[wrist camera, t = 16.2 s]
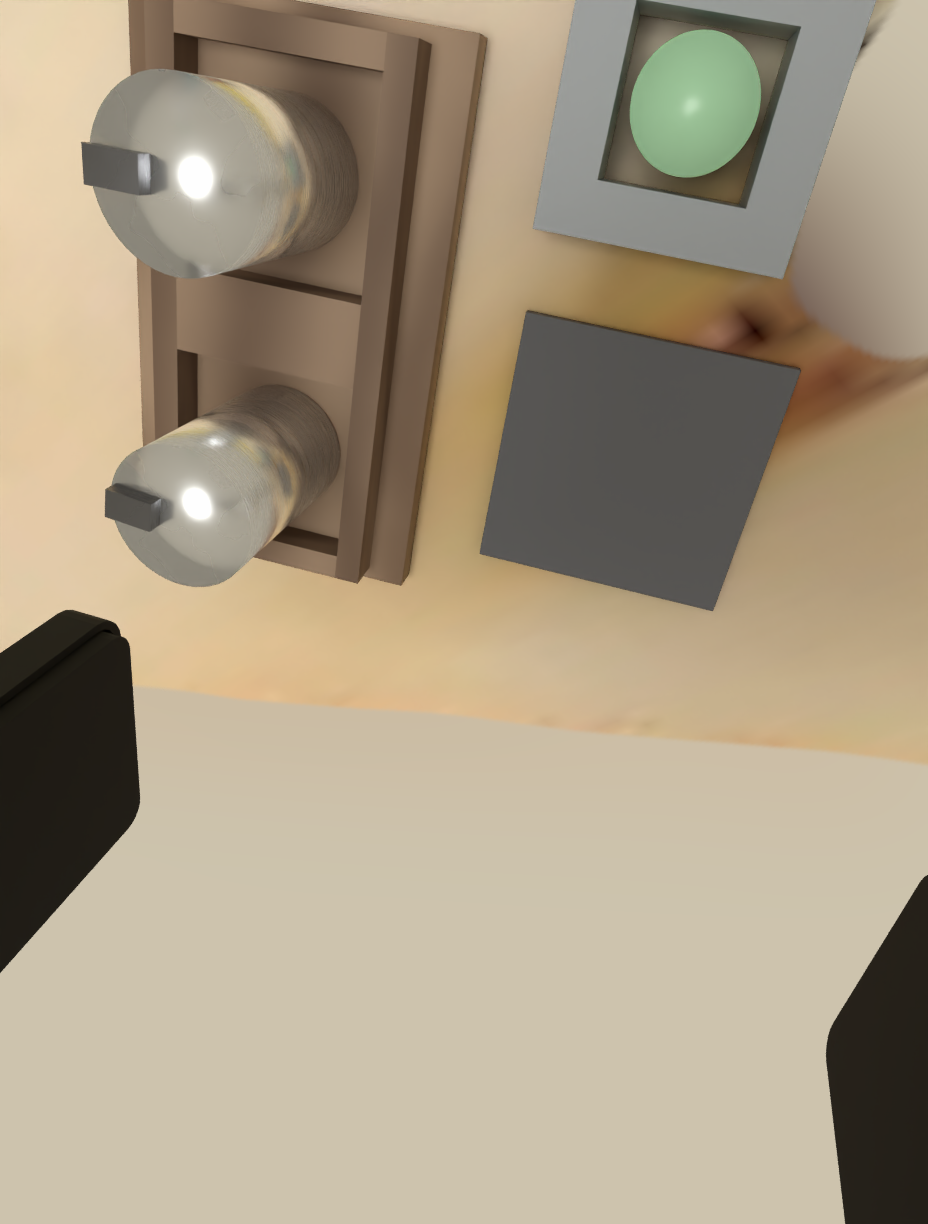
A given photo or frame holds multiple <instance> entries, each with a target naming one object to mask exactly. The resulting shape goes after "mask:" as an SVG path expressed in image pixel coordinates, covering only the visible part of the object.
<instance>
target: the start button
mask: <svg viewBox="0 0 928 1224" xmlns="http://www.w3.org/2000/svg"><path fill="white" fill-rule="evenodd" d="M760 102H761V84H760V78H759V74H758V70H757V67H756V65H755V62H754V60H753V59H752V57H751V55H750V53H749V52H748V51H747V50H746V48H745V47H744V46H743V45H742V44H741V43H740V42H738V41H737V40H736V39H734V38H733V37H731V36H729V35H727V34H725V33H723V32H719V31H715V30H706V29H704V30H694V31H689V32H686V33H683V34H680V35H678V36H676V37H674V38H672V39H670V40H669V41H668V42H666V43H665V44H663V45H662V46H661V47H660V48H659V49H658V50H657V51H655V53H654V54H653V55H652V56H651V57H650V58H649V59H648V61H647V62H646V64H645V65H644V67H643V68H642V70H641V72H640V74H639V76H638V78H637V80H636V83H635V85H634V89H633V92H632V97H631V103H630V125H631V130H632V134H633V137H634V141H635V143H636V145H637V147H638V149H639V151H640V152H641V154H642V155H643V156H644V158H645V159H646V160H647V161H648V162H649V163H650V164H651V165H652V166H654V167H655V168H656V169H658V170H660V171H661V172H664V173H666V174H668V175H672V176H675V177H683V178H686V177H697V176H702V175H705V174H708V173H711V172H713V171H715V170H717V169H719V168H720V167H722V166H723V165H725V164H726V163H727V162H729V161H730V160H731V159H732V158H733V157H734V156H735V155H736V154H737V153H738V152H739V151H740V150H741V148H742V147H743V146H744V145H745V143H746V142H747V140H748V138H749V137H750V135H751V133H752V131H753V129H754V126H755V124H756V121H757V118H758V114H759V110H760Z"/></svg>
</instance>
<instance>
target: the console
mask: <svg viewBox="0 0 928 1224" xmlns="http://www.w3.org/2000/svg"><path fill="white" fill-rule="evenodd" d="M875 3H876V0H575V6H574V11H573V16H572V22H571V27H570V32H569V38H568V43H567V48H566V54H565V59H564V64H563V70H562V75H561V80H560V86H559V91H558V96H557V102H556V107H555V112H554V118H553V123H552V128H551V134H550V139H549V144H548V150H547V155H546V160H545V166H544V171H543V176H542V182H541V187H540V192H539V198H538V203H537V208H536V214H535V219H534V224H533V229H537V230H542V231H547V232H552V233H557V234H562V235H567V236H572V237H577V238H581V239H586V240H591V241H596V242H601V243H606V244H611V245H616V246H621V247H626V248H631V249H636V250H641V251H646V252H651V253H656V254H661V255H666V256H671V257H675V258H680V259H685V260H690V261H695V262H700V263H705V264H710V265H715V266H720V267H725V268H730V269H735V270H740V271H745V272H750V273H755V274H760V275H765V276H770V277H774V278H779V279H783V276H784V274H785V271H786V268H787V265H788V262H789V259H790V256H791V253H792V250H793V247H794V244H795V241H796V238H797V235H798V232H799V229H800V226H801V223H802V220H803V217H804V214H805V211H806V208H807V205H808V202H809V199H810V196H811V193H812V190H813V187H814V184H815V181H816V178H817V175H818V172H819V169H820V166H821V163H822V160H823V157H824V154H825V151H826V148H827V145H828V142H829V139H830V137H831V133H832V131H833V128H834V125H835V122H836V119H837V116H838V112H839V110H840V107H841V104H842V101H843V98H844V95H845V92H846V89H847V86H848V83H849V80H850V77H851V74H852V71H853V68H854V65H855V62H856V59H857V56H858V53H859V50H860V47H861V44H862V41H863V38H864V35H865V32H866V29H867V26H868V23H869V20H870V17H871V14H872V11H873V9H874V6H875ZM640 15H646V16H652V17H657V18H663V19H669V20H675V21H681V22H687V23H692V24H698V25H704V26H710V27H716V28H721V29H727V30H733V31H739V32H745V33H750V34H756V35H762V36H768V37H774V38H780V39H785V40H788V42H787V45H786V48H785V52H784V55H783V58H782V62H781V65H780V69H779V72H778V75H777V79H776V82H775V85H774V89H773V92H772V95H771V99H770V102H769V105H768V109H767V112H766V115H765V119H764V122H763V126H762V129H761V132H760V136H759V139H758V142H757V146H756V149H755V152H754V156H753V159H752V162H751V166H750V169H749V172H748V176H747V179H746V183H745V186H744V189H743V193H742V196H741V199H740V203H739V204H735V203H730V202H725V201H719V200H714V199H709V198H704V197H699V196H694V195H688V194H683V193H678V192H673V191H668V190H663V189H657V188H652V187H647V186H642V185H637V184H632V183H626V182H621V181H616V180H611V179H606V178H604V175H605V171H606V166H607V162H608V157H609V153H610V148H611V144H612V139H613V135H614V130H615V126H616V121H617V117H618V112H619V107H620V103H621V98H622V94H623V89H624V85H625V80H626V76H627V71H628V67H629V62H630V58H631V53H632V49H633V44H634V40H635V35H636V30H637V26H638V21H639V17H640Z"/></svg>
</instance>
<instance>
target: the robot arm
mask: <svg viewBox="0 0 928 1224" xmlns="http://www.w3.org/2000/svg"><path fill="white" fill-rule="evenodd" d="M136 746H137V745H136V730H135V716H134V700H133V686H132V671H131V656H130V646H129V643H128V641H127V639H125V638H124V637H121V634H120V630H119V628H118V626H117V625H116V624H115V623H113V622H111V621H109V620H105V619H102V618H98V617H95V616H92V615H88V614H85V613H81V612H78V611H74V610H65V611H63V612H60V613H58V614H57V615H55V616H54V617H52V618H51V619H49V620H48V621H47V622H45V623H44V624H42V625H41V626H39V627H38V628H36V629H35V630H33V631H32V632H30V633H29V634H28V635H26V636H25V637H23V638H22V639H20V640H19V641H17V642H16V643H14V644H13V645H11V646H10V647H9V648H7V649H6V650H4V651H3V652H1V653H0V973H1V971H2V970H3V969H4V968H5V967H6V966H7V965H8V964H9V962H10V961H11V960H12V959H13V958H14V957H15V956H16V955H17V953H18V952H19V951H20V950H21V949H22V948H23V947H24V945H25V944H26V943H27V942H28V941H29V940H30V939H31V938H32V937H33V935H34V934H35V933H36V932H37V931H38V930H39V928H41V926H42V925H43V924H44V923H45V922H46V921H47V920H48V918H49V917H50V916H51V915H52V914H53V913H54V912H55V911H56V909H57V908H58V907H59V906H60V905H61V904H62V903H63V902H64V900H65V899H66V898H67V897H68V896H69V895H70V894H71V893H72V891H73V890H74V889H75V888H76V887H77V886H78V884H80V882H81V881H82V880H83V879H84V878H85V877H86V876H87V874H88V873H89V872H90V871H91V870H92V869H93V868H94V867H95V865H96V864H97V863H98V862H99V861H100V860H101V859H102V857H103V856H104V855H105V854H106V853H107V852H108V851H109V850H110V849H111V847H112V846H113V845H114V844H115V843H116V842H117V841H118V840H119V838H120V837H121V836H122V835H123V834H124V833H125V832H126V830H127V829H128V828H129V827H130V825H131V824H132V822H133V821H134V819H135V817H136V814H137V812H138V809H139V804H140V789H139V774H138V760H137V747H136ZM826 1063H827V1071H828V1079H829V1087H830V1097H831V1105H832V1114H833V1123H834V1131H835V1140H836V1148H837V1156H838V1165H839V1174H840V1182H841V1191H842V1199H843V1208H844V1217H845V1224H928V875H927V876H925V877H924V878H923V879H922V880H921V882H920V883H919V885H918V886H917V888H916V890H915V891H914V893H913V895H912V896H911V898H910V899H909V901H908V903H907V904H906V906H905V908H904V909H903V911H902V912H901V914H900V916H899V917H898V919H897V921H896V922H895V924H894V926H893V927H892V928H891V930H890V932H889V933H888V935H887V937H886V938H885V940H884V941H883V943H882V945H881V947H880V948H879V950H878V951H877V953H876V954H875V956H874V958H873V959H872V961H871V963H870V964H869V966H868V967H867V969H866V971H865V973H864V974H863V976H862V977H861V979H860V981H859V982H858V984H857V985H856V987H855V989H854V990H853V992H852V993H851V995H850V997H849V998H848V1000H847V1002H846V1003H845V1005H844V1006H843V1008H842V1010H841V1011H840V1013H839V1015H838V1016H837V1018H836V1020H835V1021H834V1023H833V1025H832V1027H831V1029H830V1032H829V1035H828V1041H827V1048H826Z"/></svg>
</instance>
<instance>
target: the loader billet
mask: <svg viewBox="0 0 928 1224" xmlns="http://www.w3.org/2000/svg"><path fill="white" fill-rule="evenodd" d="M81 144H82V160H83V177H84V184H86V185H90V186H93V188H94V191H95V195H96V198H97V201H98V203H99V206H100V208H101V210H102V213H103V215H104V217H105V219H106V220H107V222H108V224H109V226H110V227H111V229H112V230H113V232H114V233H115V235H116V236H117V237H118V239H119V240H120V241H121V242H122V243H123V245H124V246H125V247H126V248H127V249H128V250H129V251H130V252H131V253H132V254H133V255H134V256H136V257H137V258H138V259H139V260H141V261H142V262H143V263H145V264H146V265H148V266H150V267H151V268H153V269H155V270H157V271H159V272H162V273H164V274H167V275H170V276H174V277H178V278H185V279H197V278H203V277H209V276H212V275H216V274H220V273H224V272H228V271H232V270H236V269H240V268H244V267H248V266H252V265H256V264H260V263H264V262H268V261H272V260H275V259H279V258H283V257H287V256H291V255H295V254H299V253H303V252H307V251H311V250H314V249H317V248H320V247H322V246H324V245H326V244H328V243H329V242H330V241H332V240H333V239H334V238H335V237H336V236H337V235H338V234H339V233H340V232H341V231H342V230H343V228H344V227H345V226H346V224H347V223H348V221H349V219H350V217H351V215H352V212H353V210H354V207H355V203H356V200H357V194H358V183H359V176H358V165H357V160H356V155H355V152H354V149H353V146H352V143H351V141H350V139H349V136H348V135H347V133H346V131H345V129H344V128H343V126H342V125H341V123H340V122H339V120H338V119H337V118H336V117H335V116H334V115H333V113H332V112H331V111H330V110H329V109H327V108H326V107H325V106H324V105H323V104H321V103H320V102H318V101H316V100H315V99H313V98H311V97H309V96H307V95H304V94H301V93H297V92H293V91H287V90H282V89H276V88H271V87H265V86H260V85H254V84H248V83H243V82H237V81H232V80H226V79H221V78H215V77H210V76H204V75H198V74H193V73H187V72H182V71H176V70H169V69H150V70H145V71H141V72H138V73H136V74H133V75H131V76H129V77H127V78H126V79H124V80H123V81H121V82H120V83H119V84H118V85H117V86H115V87H114V88H113V89H112V90H111V91H110V93H109V94H108V95H107V97H106V98H105V99H104V101H103V103H102V104H101V106H100V108H99V110H98V112H97V115H96V118H95V120H94V123H93V127H92V132H91V137H90V142H81Z"/></svg>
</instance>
